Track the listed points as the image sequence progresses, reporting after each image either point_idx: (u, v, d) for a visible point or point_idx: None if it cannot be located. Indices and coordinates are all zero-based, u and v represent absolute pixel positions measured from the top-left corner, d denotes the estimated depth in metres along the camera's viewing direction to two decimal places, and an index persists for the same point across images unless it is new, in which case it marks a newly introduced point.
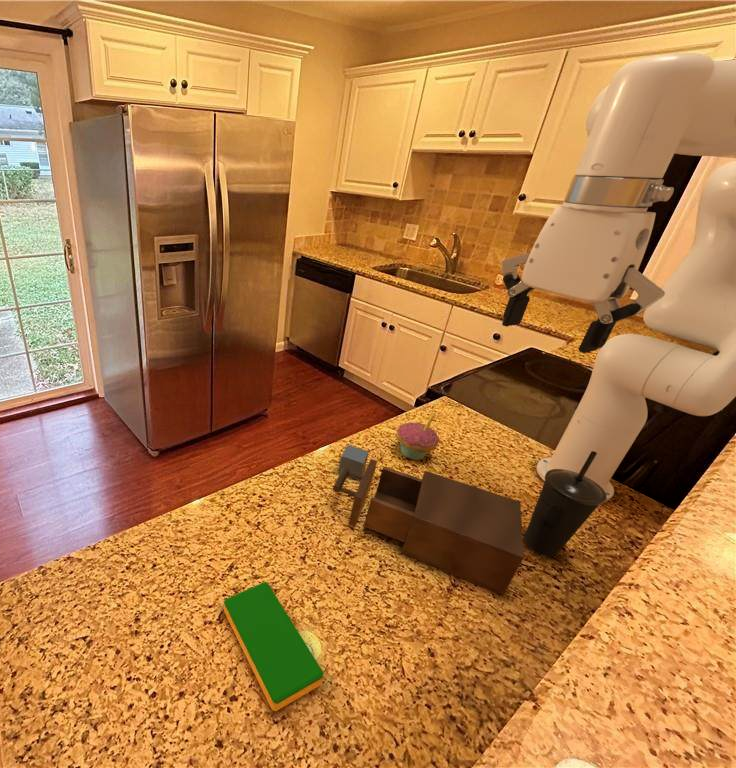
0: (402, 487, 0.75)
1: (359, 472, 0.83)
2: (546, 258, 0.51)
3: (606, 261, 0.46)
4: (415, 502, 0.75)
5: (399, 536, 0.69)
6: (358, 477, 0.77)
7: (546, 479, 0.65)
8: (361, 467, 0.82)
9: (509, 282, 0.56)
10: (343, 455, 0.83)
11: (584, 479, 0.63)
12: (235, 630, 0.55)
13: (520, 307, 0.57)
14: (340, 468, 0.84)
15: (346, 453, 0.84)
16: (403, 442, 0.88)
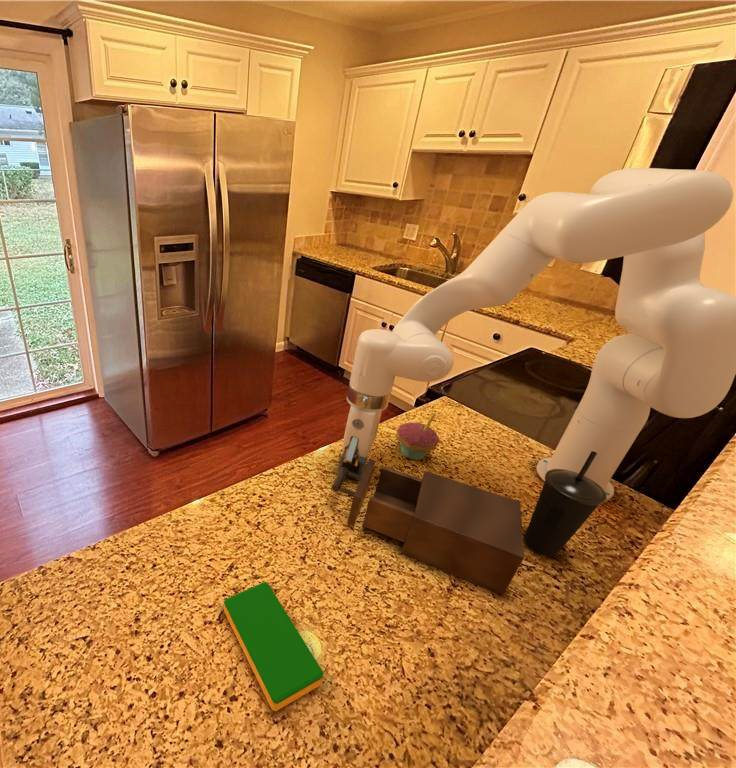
0: (401, 487, 0.75)
1: (359, 472, 0.83)
2: None
3: None
4: (414, 502, 0.75)
5: (397, 535, 0.69)
6: (357, 477, 0.77)
7: (546, 479, 0.65)
8: (361, 467, 0.82)
9: None
10: (343, 455, 0.83)
11: (584, 479, 0.63)
12: (235, 630, 0.55)
13: None
14: (340, 468, 0.84)
15: None
16: (403, 442, 0.88)
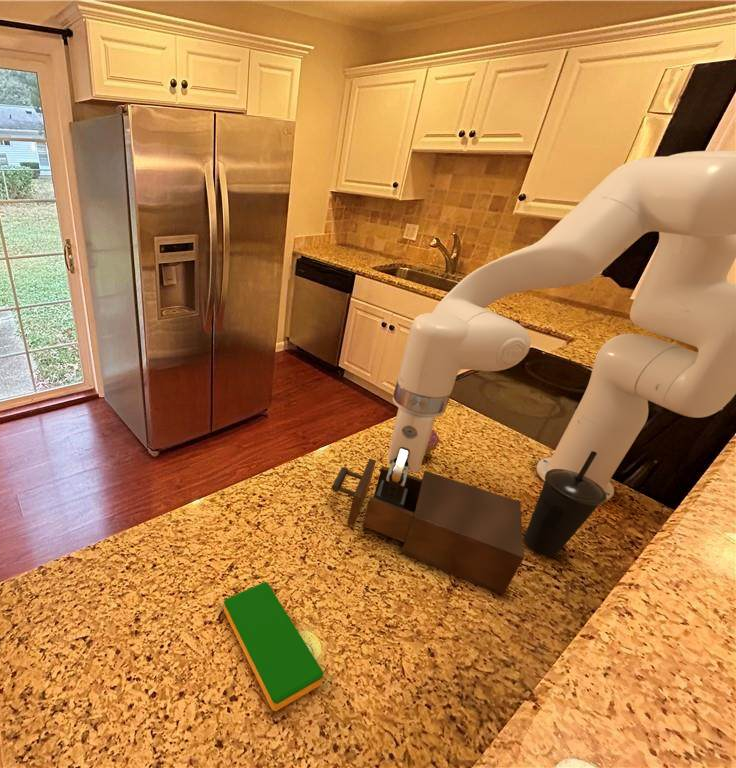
0: None
1: None
2: None
3: (391, 437, 0.64)
4: (414, 502, 0.75)
5: (397, 535, 0.69)
6: (357, 477, 0.77)
7: (546, 479, 0.65)
8: None
9: None
10: (378, 494, 0.71)
11: (584, 479, 0.63)
12: (235, 630, 0.55)
13: None
14: None
15: None
16: None
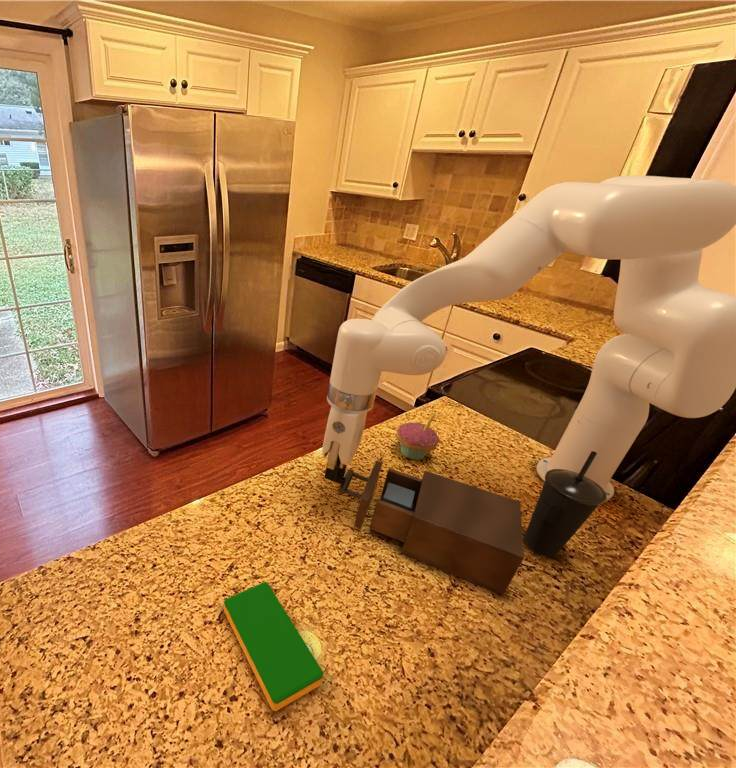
0: None
1: None
2: None
3: None
4: None
5: (405, 538, 0.68)
6: (363, 479, 0.76)
7: (546, 479, 0.65)
8: None
9: None
10: (385, 497, 0.70)
11: (584, 479, 0.63)
12: (235, 630, 0.55)
13: None
14: None
15: (389, 494, 0.71)
16: (403, 442, 0.88)
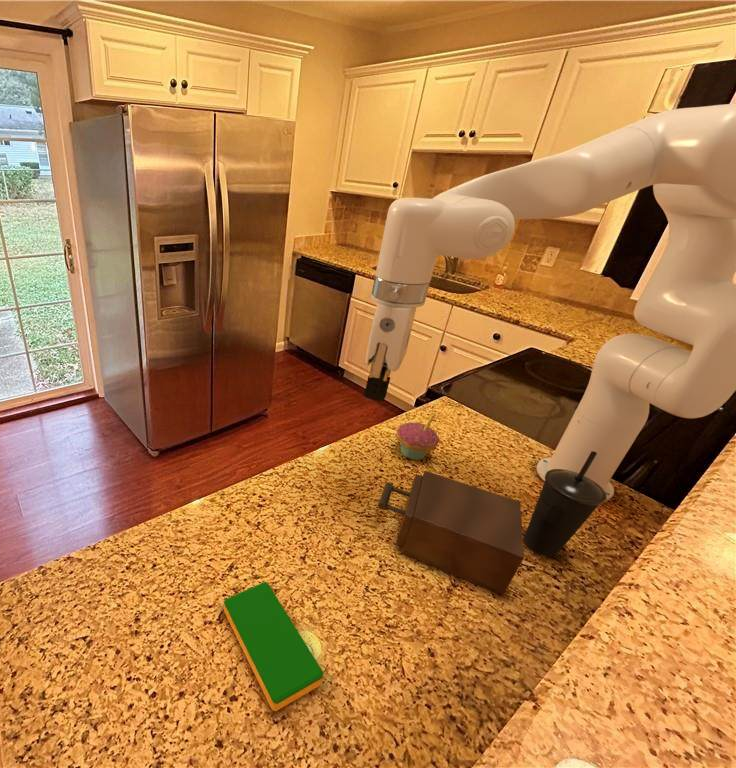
0: None
1: None
2: None
3: None
4: None
5: None
6: (403, 493, 0.73)
7: (546, 479, 0.65)
8: None
9: None
10: None
11: (584, 479, 0.63)
12: (235, 630, 0.55)
13: None
14: None
15: None
16: (403, 442, 0.88)
